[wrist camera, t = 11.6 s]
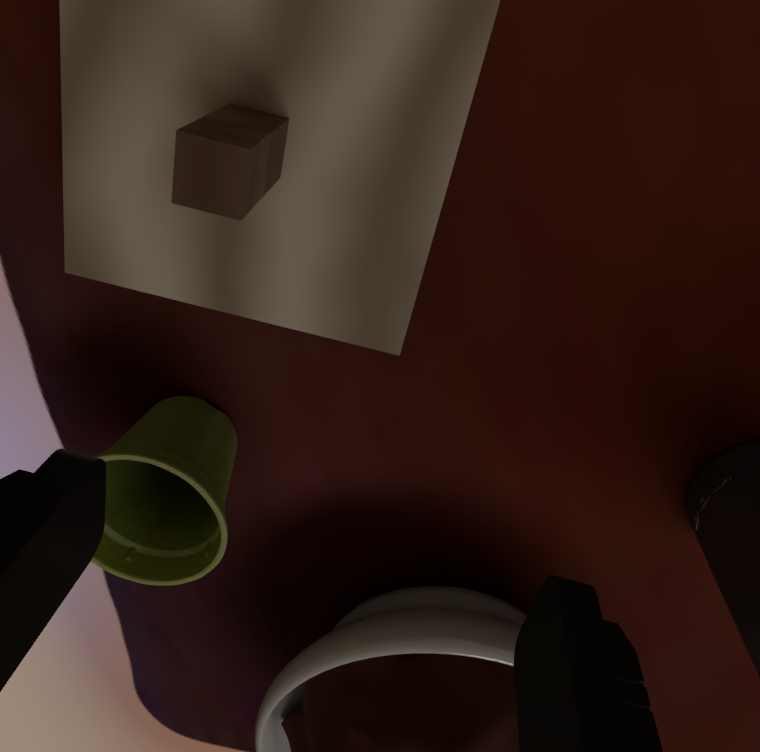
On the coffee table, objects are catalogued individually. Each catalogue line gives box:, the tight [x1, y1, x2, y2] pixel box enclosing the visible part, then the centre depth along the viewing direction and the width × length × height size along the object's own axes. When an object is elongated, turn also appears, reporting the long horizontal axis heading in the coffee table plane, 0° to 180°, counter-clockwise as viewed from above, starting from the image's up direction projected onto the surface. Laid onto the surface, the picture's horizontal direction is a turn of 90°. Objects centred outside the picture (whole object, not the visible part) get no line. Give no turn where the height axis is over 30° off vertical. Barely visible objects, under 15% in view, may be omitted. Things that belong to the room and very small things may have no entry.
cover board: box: [59, 0, 500, 356], centre depth 25 cm, size 16×16×7 cm
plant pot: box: [91, 396, 238, 585], centre depth 39 cm, size 9×9×9 cm
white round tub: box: [255, 586, 527, 752], centre depth 45 cm, size 25×25×15 cm
